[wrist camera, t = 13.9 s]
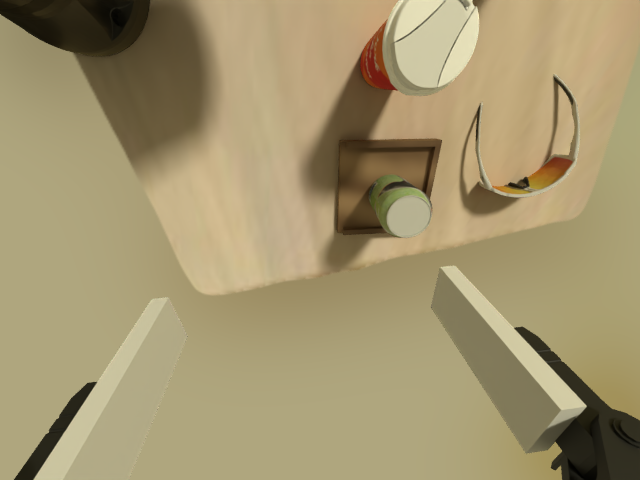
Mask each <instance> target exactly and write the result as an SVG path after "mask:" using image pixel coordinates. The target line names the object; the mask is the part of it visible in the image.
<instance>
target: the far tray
mask: <svg viewBox="0 0 640 480" xmlns="http://www.w3.org/2000/svg"><path fill="white" fill-rule="evenodd" d="M441 143H442V140H439V139H389V140H340V145H339V179H338V213H337V232H338V233H343V235H351V234H373V233H388V232H386V231H385V230H384V228H383V227H382V225H381V223H380V221H379V219H378V218H377V216H376V214H375V212H374V210H373V208H372V206H371V204H370V202H369V191H370V188H371V186H372V185H373V183H374V182H375V181H376V180H377V179H379V178H380V177H382V176H385V175H397V176H400V177H402V178H403V179H405V180H406V181H408V182H409V183H411V184H412V185H414V186H415V187H417V188H418V189H419V190H421V191H422V192H424V193H425V194H426V195H427V196H428V198H429V199H430V196H431V191H432V187H433V182H434V177H435V172H436V167H437V163H438V158H439V153H440V148H441Z"/></svg>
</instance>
